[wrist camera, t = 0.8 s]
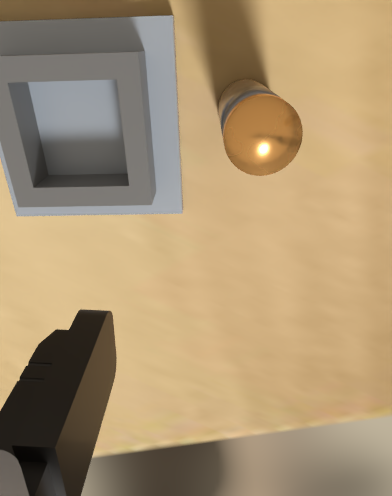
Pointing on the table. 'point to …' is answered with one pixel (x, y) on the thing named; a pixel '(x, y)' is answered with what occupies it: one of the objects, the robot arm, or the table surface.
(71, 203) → the socket
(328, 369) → the table surface
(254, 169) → the cylinder
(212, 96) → the table surface
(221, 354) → the table surface
